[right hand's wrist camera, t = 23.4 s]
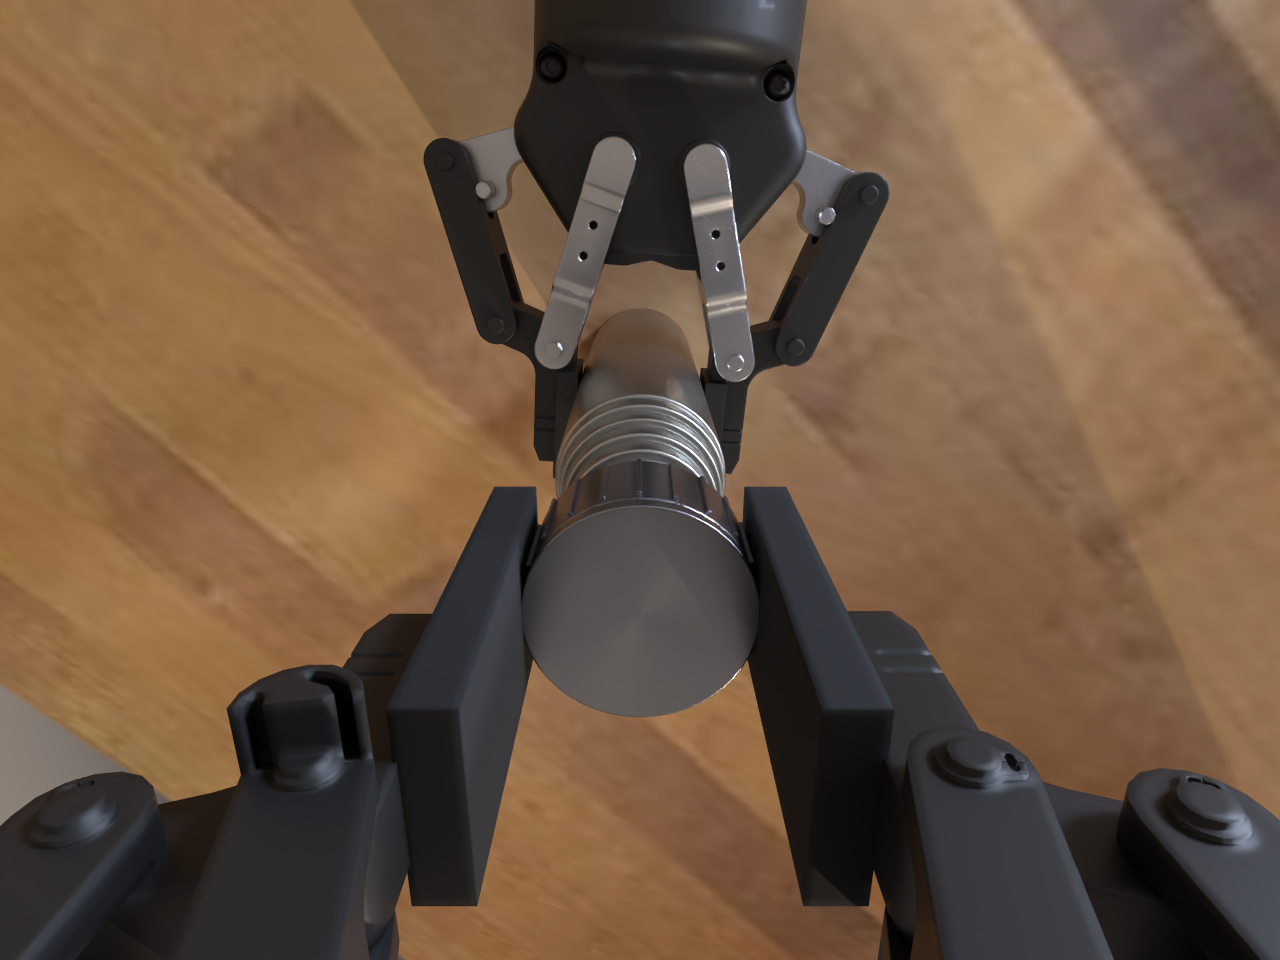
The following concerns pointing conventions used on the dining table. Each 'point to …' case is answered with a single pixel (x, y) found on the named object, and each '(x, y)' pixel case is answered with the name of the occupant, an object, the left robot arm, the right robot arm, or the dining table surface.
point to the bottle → (640, 404)
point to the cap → (640, 591)
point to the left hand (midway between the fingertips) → (635, 474)
